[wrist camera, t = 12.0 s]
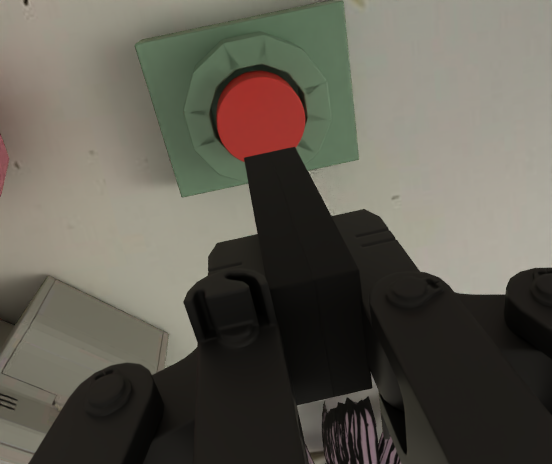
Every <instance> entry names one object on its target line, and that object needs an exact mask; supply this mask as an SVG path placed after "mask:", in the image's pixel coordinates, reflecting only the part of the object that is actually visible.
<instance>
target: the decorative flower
mask: <svg viewBox="0 0 552 464" xmlns="http://www.w3.org/2000/svg"><path fill="white" fill-rule="evenodd" d="M322 439H323V447H324V454H325V458H326V462H327V464H401V461H400V459H399V456H398V453H397V451H396V448H395V446H394V443H393V441H392V438H391V436H390V439H387V440H384V436H383V433H382V435H381V438H380V440H379V443H378V438H377V432H376V422H375V417H374V414H373V410H372V406H371V403H370V400H369V397H367V398H366V399H364V400H363V401H362V400H361V401H359V402H358V403H356V402H353V401H351V400H350V399H349V398H347V399H346V402H345V404H343V403H339V402H338V406H337V408H333V409H330V411H329V413H327V409H326V406H325V401H324V404H323V412H322ZM305 446H306V451H307V455H308V460H309V464H314V462H313V460H312V458H311V455H310V453H309V450H308V448H307V445H306V444H305Z"/></svg>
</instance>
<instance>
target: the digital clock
mask: <svg viewBox="0 0 552 464" xmlns="http://www.w3.org/2000/svg"><path fill="white" fill-rule="evenodd" d="M168 338H169V334H168V333H166V332H164V331H162V330H160V329H158V328H155V327H153V326H151V325H149V324H147V323H145V322H143V321H141V320H139V319H137V318H135V317H133V316H131V315H129V314H127V313H124V312H122V311H120V310H118V309H116V308H114V307H112V306H110V305H108V304H106V303H104V302H102V301H100V300H98V299H96V298H94V297H91V296H89V295H87V294H85V293H83V292H81V291H79V290H77V289H75V288H73V287H71V286H69V285H67V284H65V283H63V282H61V281H58V280H55V279H54V278H52V277H50V276H48V277H47V278H46V279H45V281H44V282H43V284H42V285H41V287H40V288H39V290H38V291H37V293H36V294H35V296H34V297H33V299H32V300H31V302H30V303H29V305H28V306H27V308H26V309H25V311H24V313H23V314H22V316H21V317H20V319H19V320H18V322H17V323H16V325H12V324H9V323H7V322H5V321H2V320H0V464H28V463H29V462H30V460H31V458H32V457H33V455H34V454H35V452H36V450H37V449H38V447H39V445H40V444H41V442H42V441H43V439H44V437H45V436H46V434H47V432H48V431H49V429H50V428H51V426H52V424H53V423H54V421H55V419H56V418H57V416H58V415H59V413H60V411H61V410H62V408H63V406H64V405H65V403H66V402H67V400H68V398H69V397H70V396H71V394H72V393H73V392H74V391H75V390H76V388H77V387H78V386H79V385H80V384H81V383H82V382H83V381H85V380H86V379H87V378H89V377H90V376H91V375H93V374H94V373H96V372H98V371H100V370H102V369H104V368H106V367H109V366H111V365H116V364H121V363H126V362H128V363H137V364H141V365H143V366H144V367H146V368H147V369H149V370H150V372H151V374H152V375H153V374H155V373H157V372H159V371H161V370H163V369H164V368H165V361H166V353H167V346H168Z"/></svg>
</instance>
